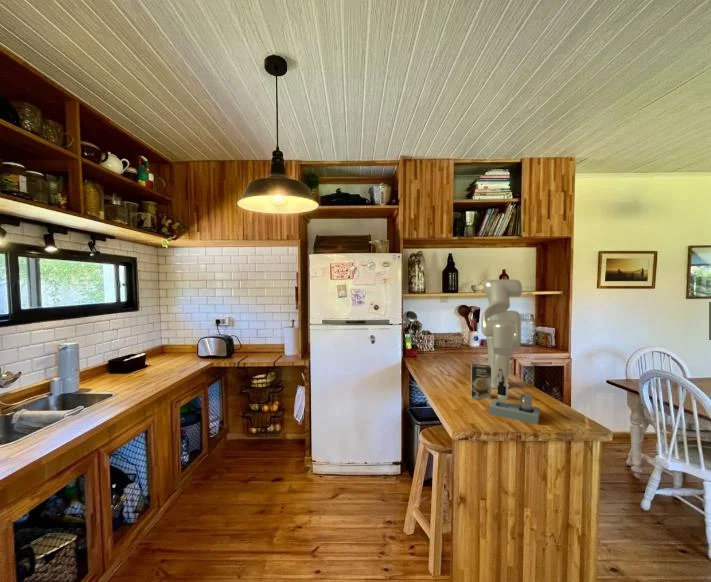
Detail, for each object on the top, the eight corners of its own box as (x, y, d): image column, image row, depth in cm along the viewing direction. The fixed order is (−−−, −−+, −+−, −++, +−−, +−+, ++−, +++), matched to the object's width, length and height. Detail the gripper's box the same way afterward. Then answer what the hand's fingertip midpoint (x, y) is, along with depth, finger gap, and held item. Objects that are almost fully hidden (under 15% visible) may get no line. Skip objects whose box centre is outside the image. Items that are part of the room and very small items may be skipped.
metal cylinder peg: (521, 414, 129) (521, 393, 129) (532, 416, 127) (532, 394, 127) (520, 417, 126) (520, 395, 126) (531, 419, 123) (531, 397, 123)
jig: (494, 407, 138) (494, 398, 138) (539, 417, 128) (539, 407, 128) (488, 415, 129) (488, 406, 129) (537, 426, 119) (537, 416, 119)
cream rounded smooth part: (498, 396, 134) (498, 375, 134) (508, 397, 132) (508, 377, 132) (496, 398, 131) (496, 378, 131) (507, 400, 129) (507, 379, 128)
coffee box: (471, 398, 150) (471, 366, 150) (470, 394, 156) (470, 363, 156) (491, 400, 147) (491, 367, 147) (490, 396, 153) (490, 364, 153)
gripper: (497, 347, 140) (497, 386, 140) (489, 353, 127) (489, 397, 127) (515, 349, 136) (515, 389, 136) (509, 356, 122) (509, 401, 122)
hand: (502, 393), depth 131 cm, fingers closed on cream rounded smooth part, 4 cm apart
